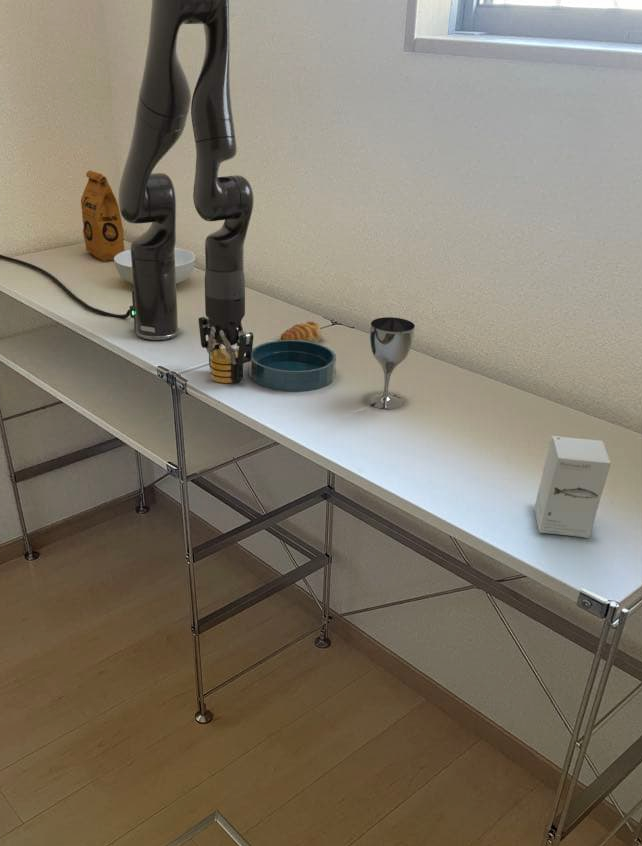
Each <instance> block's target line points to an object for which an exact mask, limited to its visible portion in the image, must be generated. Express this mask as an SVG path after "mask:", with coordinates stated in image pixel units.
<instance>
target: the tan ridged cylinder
mask: <svg viewBox="0 0 642 846" xmlns="http://www.w3.org/2000/svg"><path fill="white" fill-rule="evenodd" d="M235 355H236V358H237V357H238V353H237V351H235ZM210 359H211V360H210V364H211V371H210V379H211V380H212V381H214V382H216V383H221V384H229V383H234V382H233V381H232V380H231V364H232V361H231V358H230V355H229V354H228V353H227V352H226V348H225V347H224V348H223V347H221V348H220V349H216V350H213V351H212V352H211V353H210Z"/></svg>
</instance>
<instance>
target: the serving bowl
mask: <svg viewBox="0 0 642 846" xmlns="http://www.w3.org/2000/svg"><path fill="white" fill-rule="evenodd" d="M174 251H175V272H176V285H177V284H180V283H182V282H184V281H185V280H187V279H188V278H189V277H190V276H191V275H192V273H193V271H194V269H195V265H196V255H195V253H193V252H192V251H191V250H189V249H184V248H180V247H175V249H174ZM113 262H114V266H115V270H116V271H117V273H118V274H119V276H120V277H121V278H122V279H123V280H124V281H126V282H128V283H130V284H132V285H133V274H132V261H131V248H130V249H127V250H124V251H123V252H121V253H119V254H117V255H116V256H115V257H114V260H113Z"/></svg>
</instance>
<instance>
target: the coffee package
mask: <svg viewBox="0 0 642 846" xmlns="http://www.w3.org/2000/svg"><path fill="white" fill-rule="evenodd" d="M85 176H86V178H88V180H87V183H86V185H85V187H84V190H83V192H82V196H81V198H80V206H81V207H80V208H81V216H82V217H81V219H82V224H83V225H82V227H83V228H82V234H83V238H84V243H85V251H87V252H88V253H89V254H92V255H93V256H94V257H95V258H97V259H98V260H101V261H102V262H107V261H110V262H111V261H114V257H115V256H116V255H117V254H119V253H121V252H123V251H125V242H124V241H125V235H124V226H123V222H122V215H121V212H120V209H119V203H118V200H117V198H116V196H115V194H114V192H113V189H112V187H111V185H110V184H109V181H108V179H107V176H105V175H103V174H102V173H100V172H97V171H93V170H88V171H87V172H86V174H85Z"/></svg>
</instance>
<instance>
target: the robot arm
mask: <svg viewBox="0 0 642 846" xmlns="http://www.w3.org/2000/svg"><path fill="white" fill-rule="evenodd" d="M183 25H202V26H203V33H204V39H205V47H204V48H205V50H204V57H203V61H202V62H203V63H202V65H201V68H200V72H199V75H198V78H197V81H196V84H195V87H194V89H193V93H192V92H191V88H190V84H189V81H188V78H187V76H186V73H185V71H184V69H183V66H182V63H181V61H180V59H179V56H178V52H177V46H178V45H177V44H178V42H177V41H178V37H179V36H178V35H179V32H180V29H181V26H183ZM230 41H231V40H230V0H151V9H150V19H149V33H148V42H147V50H146V56H145V61H144V68H143V73H142V77H141V83H140V88H139V91H138V99H137V104H136V111H135V119H134V126H133V131H132V136H131V141H130V146H129V150H128V153H127V158H126V161H125V164H124V167H123V171H122V174H121V178H120V182H119V186H118V199H117V203H118V206H119V211H120V215H121V218H123V220H124V221H126V222H127V223H129V224H133V225H134V224H136V225H137V224H138V225H141V224H148V223H149V224H150V223H151V224H150V226H149V227H148V229H147V230H145V232H143V233H142V234H141V235H138V236H137V237H135V238H133V240H132V241H131V243H130V249H131V261H132V274H133V284H132V285H133V286H132V287H133V288H132V289H131V300H132V305H129V306H128V307H129V309H128V310H127V311H126V313H125V314H115V313H111V312H108V311H104V310H101V309H99V308H95V307H93V306H91V305H90V304H87V303H86V302H85V301H83V300H82V299H80V298H79V297H77V295H76V294H75V293H73V292H72V291H70V290H69V289H68V288H67V287H66V286H65V285H64V284H63V283H62V282H61V281H59V280H58V278H56V277H55V276H54V275H52V274H51V273H50V272H48V271H47V270H45V269H43V268H41V267H39V266H37V265H34V264H32V263H29V262H27V261H24V260H21V259H17V258H14V257H10V256H7V255H3V254H0V259H2V260H6V261H10V262H13V263H17V264H20V265H22V266H26V267H28V268H31V269H34V270H35V271H38V272H40V273H42V274H43V275H45V276H47V277H48V278H49V279H51V280H52V281H53V282H55V283H56V284H57V285H58V286H59V287H60V288H61V289H62V290H63V291H64V292H65V293H66V294H67V295H68V296H70V298H72V299H73V300H74V301H75V302H77V303H78V304H79V305H81V306H82V307H84V308H86V309H87V310H88V311H91V312H94V313H96V314H99V315H103V316H106V317H110V318H115V319H128V318H129V317H130V318H131V319H133V324H134V331H135V334H136V336H137V337H138V338H141V339H143V340H147V341H166V340H171V339H173V338H175V337H176V336H178V335H179V324H178V322H179V321H178V296H177V284H176V272H175V251H174V249H175V248H176V241H177V224H176V223H177V199H176V197H177V196H176V191H175V186H174V184H173V180H172V179H171V177H170V176H169V175H168V174H167V173H164V172H153V171H154V169H155V167H156V166H157V165H158V163H159V162H160V161H161V160H162V159H163V158H164V157H165V156H166V155H167V153H169V152H170V151H171V149H172V148H173V147H174V146H175V145H176V144H177V142H178V141H179V139H180V138H181V136H182V135H183V133H184V131H185V128H186V125H187V120H188V115H189V111H190V115H191V117H190V118H191V124H192V131H193V139H194V143H195V152H196V153H195V154H196V155H195V172H194V183H193V195H192V196H193V204H194V205H193V206H194V208H195V211H196V213H197V214H198V215H199V217H200V218H201V219H202V220H204V221H205V222H217V221H223V225H222V226H221V227H220V228H219V229H217V230H216V231H213V232H211V233H210V234H208V235H207V236H206V238H205V240H204V241H205V242H204V253H205V254H204V255H205V256H204V257H205V271H204V272H205V273H204V302H205V303H204V306H205V307H204V308H205V309H204V310H205V311H204V312H205V316H201V317H199V318H198V329H199V339H200V346H201V348H202V349H206V353H208V365H209V372H211V364H210V360H211V359H210V353H211V352H212V351H213V350H216V349H221V348H222V346H224V348H226V352H227V353H228V354H229V355H230V358H231V361H232V364H231V380H232V381H233V382H232V383H238V382H241V381H242V380H243V377H244V364H246V363H249V362H250V361H251V357H252V349H253V348H254V333H253V332H252V331H251V332H246V331H244V329H243V325H242V320H243V318H244V317H245V315H246V278H245V269H244V266H245V265H244V262H245V261H244V259H245V258H244V255H245V254H244V252H245V249H244V248H245V247H244V246H245V241H246V237H247V234H248V229H249V225H250V222H251V217H252V215H253V214H252V213H253V210H254V201H255V200H254V197H255V196H254V192H253V188H252V185H251V184H250V181H249V180H248V179H247V178H246V177H244V175H243V176H242V175H239V174H238V175H237V174H235V175H226V176H225V175H224V176H218V174H219V168H220V165H221V164H222V163H224V162H228V161H230V160H232V159H233V158H235V157H236V155H237V152H238V151H237V150H238V149H237V147H238V146H237V138H236V131H235V125H234V116H233V109H232V100H231V85H230V83H231V80H230V53H231V52H230V50H231V49H230V46H231V45H230V44H231V43H230ZM152 172H153V173H152ZM207 338H208V339H207ZM234 345H236V346H234ZM233 346H234V347H233ZM235 351H237V353H238V357H237V358H236V355H235Z"/></svg>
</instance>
